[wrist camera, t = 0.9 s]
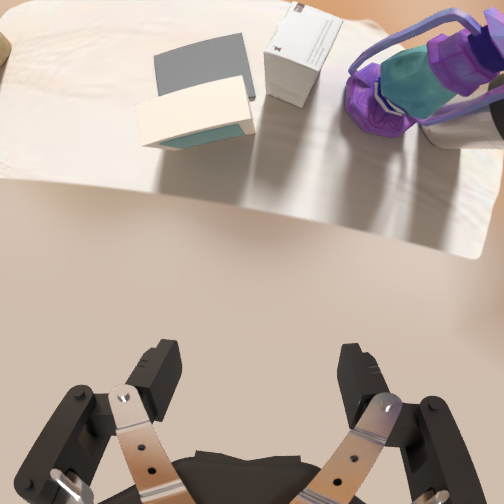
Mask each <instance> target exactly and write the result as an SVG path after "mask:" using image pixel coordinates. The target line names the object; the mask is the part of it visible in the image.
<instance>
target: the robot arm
mask: <svg viewBox="0 0 504 504" xmlns="http://www.w3.org/2000/svg"><path fill="white" fill-rule="evenodd" d="M502 85H504V74H500V75H497V76H496V77H495V78H494V79H493V80H492V81H490V82H489V83H487V84H483V85H480V87H479V88H478V89H477V90H476V91H475V92H473V93H472V94H471V95H470V96H469V97H462V96H460V95H458V94H457V95H456V96H455V97H454V98H452V99H451V100H450V101H449V102H447V103H446V104H445V105H444V106H442V107H441V108H440V109H438V110H437V111H436V112H434V113H433V114H431V115H430V116H429V117H433V116H437V115H441V114H445V113H447V112H450V111H452V110H454V109H457V108H459V107H461V106H463V105H465V104H467V103H469V102H470V101H472V100H474V99H475V98H477V97H479V96H481V95H482V94H484V93H486V92H488V91H490V90H492V89H495V88H497V87H499V86H502ZM429 117H428V118H429ZM421 127H422V130H423V132H424V134H425V135H426V137H427V138H428V140H429V141H430V142H431V143H432V144H433V145H435V146H437V147H438V148H442V149H504V99H501V100H498V101H495V102H492V103H490V104H488V105H486V106H483V107H481V108H479V109H476V110H474V111H471V112H468V113H466V114H463V115H461V116H458V117H456V118H453V119H451V120H448V121H446V122H442V123H439V124H435V125H431V126H427V127H426V126H423V125H421ZM181 374H182V362H181V357H180V352H179V347H178V343H177V341H175V340H166V339H161V340H160V342H159V344H158V345H157V347H156V348H150V349H149V350H148V351H146V352H145V353H144V354H143V356H142V358H141V359H140V361H139V362H138V364H137V366H136V367H135V369H134V370H133V372H132V374H131V375H130V377H129V378H128V380H127V382H126V383H125V384H124V385H119V386H116V387H114V388H113V389H112V390H111V391H110V392H109V393H108V394H94V393H93V391H92V389H91V388H90V387H88V386H86V385H77V386H75V387H72V388H71V389H70V390H69V391H68V392H67V394H66V395H65V397H64V398H63V400H62V401H61V403H60V404H59V406H58V407H57V409H56V410H55V412H54V413H53V415H52V416H51V418H50V419H49V421H48V422H47V424H46V426H45V427H44V429H43V430H42V432H41V434H40V436H39V437H38V438H37V440H36V442H35V443H34V445H33V447H32V448H31V450H30V452H29V454H28V455H27V457H26V459H25V460H24V462H23V464H22V465H21V467H20V469H19V471H18V473H17V475H16V477H15V479H14V488H15V490H16V492H17V493H18V494H19V495H20V496H21V497H22V498H23V499H25V500H26V501H27V502H28V503H30V504H94V502H93V499H94V495H93V492H92V490H91V488H90V485H91V482H92V480H93V477H94V475H95V472H96V470H97V467H98V465H99V463H100V460H101V458H102V456H103V453H104V451H105V448H106V446H107V444H108V442H109V439H110V437H111V436H112V435H113V436H117V437H118V440H119V443H120V446H121V449H122V451H123V454H124V457H125V460H126V462H127V465H128V467H129V470H130V472H131V475H132V477H133V480H134V482H135V485H133V486H131V487H129V488H128V489H126V490H124V491H122V492H120V493H118V494H116V495H114V496H112V497H110V498H108V499H106V500H104V501H102V502H100V503H98V504H366V503H364V502H363V501H361V500H360V499H359V498H358V497H356V496H355V493H356V492H357V490H358V489H359V487H360V486H361V484H362V483H363V481H364V480H365V478H366V477H367V475H368V473H369V472H370V470H371V468H372V467H373V465H374V463H375V462H376V460H377V458H378V456H379V454H380V453H381V451H382V449H383V447H384V446H387V447H400V451H401V455H402V459H403V463H404V467H405V471H406V475H407V480H408V485H409V489H410V494H411V499H412V503H411V504H487V503H486V500H485V496H484V493H483V490H482V487H481V484H480V481H479V478H478V476H477V473H476V470H475V467H474V465H473V462H472V460H471V457H470V455H469V452H468V450H467V447H466V445H465V442H464V440H463V438H462V436H461V434H460V431H459V429H458V427H457V424H456V422H455V420H454V418H453V416H452V414H451V412H450V410H449V407H448V405H447V404H446V402H445V401H444V400H443V399H441V398H440V397H437V396H428V397H426V398H424V399H423V400H422V401H421V403H420V404H408V403H402V401H401V399H400V398H399V397H397V396H396V395H395V394H392V393H390V391H389V389H388V387H387V384H386V382H385V380H384V377H383V375H382V373H381V371H380V369H379V367H378V364H377V362H376V360H375V358H374V357H373V356H372V355H370V354H369V353H368V352H366V353H362V351H361V348H360V346H359V344H358V343H352V344H343V345H342V348H341V353H340V358H339V364H338V368H337V379H338V383H339V387H340V391H341V395H342V399H343V403H344V407H345V411H346V415H347V420H348V424H349V428H350V429H351V430H350V432H349V433H348V434H347V436H346V437H345V439H344V440H343V442H342V443H341V444H340V446H339V447H338V448H337V450H336V451H335V452H334V454H333V455H332V457H331V458H330V459H329V460H328V462H327V463H326V464H325V465H324V467H323V468H322V469H320V468H319V467H317V466H314V465H311V464H308V463H303V462H301V458H300V456H273V457H267V458H262V459H256V460H249V461H246V460H242V459H238V458H235V457H231V456H227V455H224V454H221V453H212V452H204V451H197V450H196V453H195V456H194V457H188V458H183V459H179V460H176V461H174V462H172V463H171V462H170V460H169V458H168V456H167V454H166V453H165V450H164V449H163V447H162V445H161V443H160V441H159V439H158V437H157V434H156V432H155V430H154V428H153V426H152V424H153V422H154V421H159V422H162V421H163V419H164V416H165V414H166V411H167V409H168V406H169V404H170V401H171V398H172V396H173V394H174V391H175V389H176V387H177V384H178V382H179V379H180V377H181Z"/></svg>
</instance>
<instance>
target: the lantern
mask: <svg viewBox="0 0 504 504" xmlns="http://www.w3.org/2000/svg"><path fill="white" fill-rule="evenodd" d="M484 15H485V18H486V21H487V25H486V26H484V27H482V26H481V25H479V23H478V22H476V21H475V20H474V19H473V18H472V17H471V16H470V15H469V14H468V13H466V12H464V11H462V10H460V9H458V8H449V9H446V10H442V11H440V12H437V13H435V14H433V15H432V16H430V17H428V18H426V19H424V20H422V21H420V22H419V23H417V24H415V25H412V26H410V27H408V28H406V29H404V30H402V31H400V32H397V33H395V34H393V35H391V36H388V37H387V38H385V39H383V40H381V41H380V42H378V43H376V44H374V45H373V46H371V47H370V48H368V49H367V50H366V51H364V52H363V53H362V54H361V55H360V56H359V57H358V58H357V59H356V60H355V62H354V63H353V64H352V65H351V66H350V68H349V70H348V72H349V73H350V75H351V76H350V77H349V78H348V80H347V82H346V100H345V109H346V110H347V111H348V113H349V114H350V115H351V116H352V118H353V119H354V120H355V122H356V123H357V124H358V125H359V127H360V128H361V129H362V131H363V132H368V133H372V134H376V135H381V136H385V137H389V138H396V137H399V136H400V135H401V134H402V133H404V132H405V131H406V130H408V129H409V128H410V127H411V126H413V125H414V124H415V123H416V122H417V123H419V124H420V125H423V126H426V127H427V126H431V125H435V124H439V123H442V122H446V121H448V120H451V119H453V118H456V117H458V116H461V115H463V114H466V113H468V112H471V111H474V110H476V109H479V108H481V107H483V106H486V105H488V104H490V103H492V102H495V101H498V100H501V99H504V85H502V86H499V87H497V88H495V89H492V90H490V91H488V92H486V93H484V94H482V95H481V96H479V97H477V98H475V99H474V100H472V101H470V102H469V103H467V104H465V105H463V106H461V107H459V108H457V109H454V110H452V111H450V112H447V113H445V114H441V115H437V116H433V117H429V116H430V115H431V114H433V113H434V112H436V111H437V110H438V109H440V108H441V107H442V106H444V105H445V104H446V103H447V102H449V101H450V100H451V99H452V98H454V97H455V96H456V95H457V94H458V95H460V96H462V97H469V96H470V95H471V94H472V93H473V92H475V91H476V90H477V89H478V88H479V87H480V85H483V84H487V83H489V82H490V81H492V80H493V79H494V78H495V77H496V76H497V75H499V74H500V71H504V14H502V13H501V12H500V11H498V10H497V9H496V8H494V7H492V8H490V9H487V10H485V11H484ZM452 21H458V22H459V23H461V24H462V25H463V26H464V27H465V29H463V30H461V31H459V32H457V33H455V34H454V35H452V36H446V35H444V34H440V35H439V36H437V37H435V38H433V39H431V40H429V41H428V42H427V44H426V45H423V46H418V47H415V48H411V49H407V50H403V51H400V52H399V53H397V54H395V55H394V56H392V57H390V58H389V59H387V60H385V61H384V62H382V63H381V65H379V64H376V63H371V64H369V65H367V66H366V67H364V68H363V69H361V70H359V71H357V70H356V69H357V68H358V67H359V66H360V65H361V64H362V63H363V62H364V61H365V60H367V59H369V58H370V57H372V56H373V55H375V54H377V53H379V52H380V51H382V50H384V49H386V48H388V47H390V46H392V45H395V44H398V43H400V42H403V41H405V40H407V39H410V38H412V37H415V36H417V35H420V34H422V33H424V32H426V31H428V30H430V29H432V28H434V27H437V26H439V25H441V24H443V23H446V22H452ZM428 117H429V118H428Z"/></svg>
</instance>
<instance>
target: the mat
mask: <svg viewBox="0 0 504 504" xmlns="http://www.w3.org/2000/svg"><path fill="white" fill-rule="evenodd" d="M154 62H155V70H156V78H157V85H158V92H159V96H163V95H166V94H169V93H172V92H175V91H179V90H182V89H185V88H189V87H193V86H196V85H200V84H204V83H208V82H212V81H217V80H221V79H226V78H230V77H235V76H240V75H242V77H243V80H244V84H245V87H246V91H247V94H248V98H252V97H256V96H255V91H254V86H253V81H252V77H251V72H250V68H249V63H248V58H247V54H246V50H245V45H244V41H243V37H242V33H238V34H232V35H228V36H223V37H218V38H214V39H210V40H206V41H202V42H198V43H194V44H190V45H187V46H184V47H180V48H177V49H174V50H171V51H168V52H165V53H162V54H159V55H156V56H154Z"/></svg>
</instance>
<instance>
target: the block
mask: <svg viewBox="0 0 504 504" xmlns="http://www.w3.org/2000/svg"><path fill="white" fill-rule="evenodd" d="M136 112H137V120H138V126H139V133H140V139H141V145H142V146H145V147H153V148H160V149H167V150H173V151H178V150H181V149H185V148H189V147H193V146H197V145H201V144H206V143H210V142H214V141H219V140H224V139H228V138H233V137H238V136H243V135H249V134H254V133H256V132H255V126H254V121H253V116H252V111H251V106H250V101H249V98H248V94H247V91H246V87H245V84H244V80H243V77H242V75H240V76H235V77H230V78H226V79H221V80H217V81H212V82H208V83H204V84H200V85H196V86H193V87H189V88H185V89H182V90H179V91H175V92H172V93H169V94H166V95H163V96H159V97H156V98H154V99H151V100H148V101H145V102H142V103H139V104H137V105H136Z"/></svg>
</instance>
